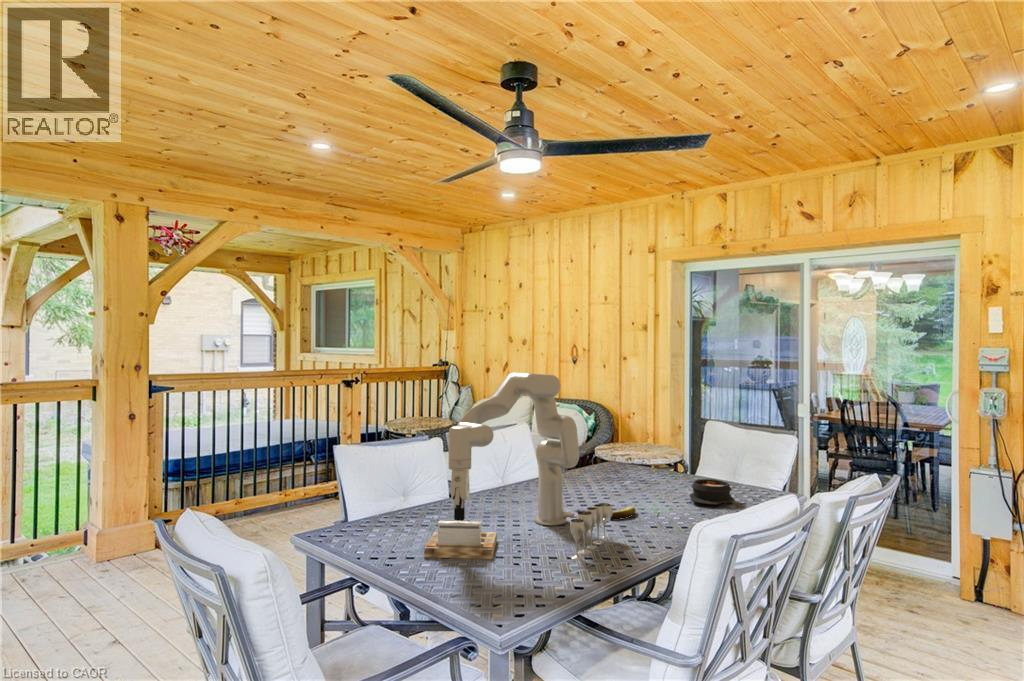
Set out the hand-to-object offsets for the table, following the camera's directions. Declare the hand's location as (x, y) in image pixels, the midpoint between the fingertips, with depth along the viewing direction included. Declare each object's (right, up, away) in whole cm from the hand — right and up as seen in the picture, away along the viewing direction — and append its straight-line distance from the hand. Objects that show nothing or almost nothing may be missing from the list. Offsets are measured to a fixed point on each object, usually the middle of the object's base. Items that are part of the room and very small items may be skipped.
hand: (459, 519), depth 194 cm
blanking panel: (0, -11, 0) cm, 10 cm away
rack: (0, -12, +5) cm, 13 cm away
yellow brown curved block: (+63, -13, +46) cm, 79 cm away
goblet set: (+45, -12, +8) cm, 47 cm away
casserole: (+106, -13, +69) cm, 127 cm away
